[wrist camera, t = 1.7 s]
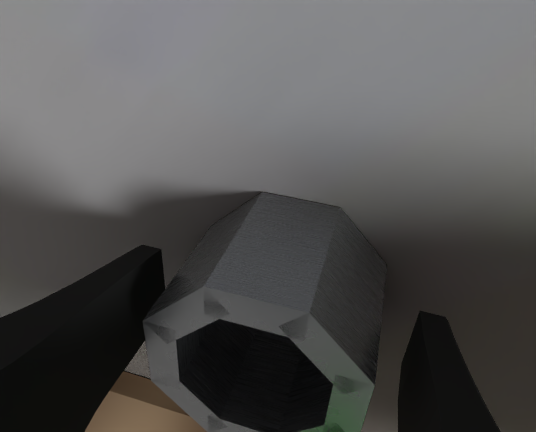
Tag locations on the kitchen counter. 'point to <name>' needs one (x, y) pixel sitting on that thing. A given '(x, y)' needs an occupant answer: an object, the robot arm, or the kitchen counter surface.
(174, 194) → the kitchen counter surface
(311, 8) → the kitchen counter surface
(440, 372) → the robot arm
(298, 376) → the hub
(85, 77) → the kitchen counter surface
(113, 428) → the thin wooden board
